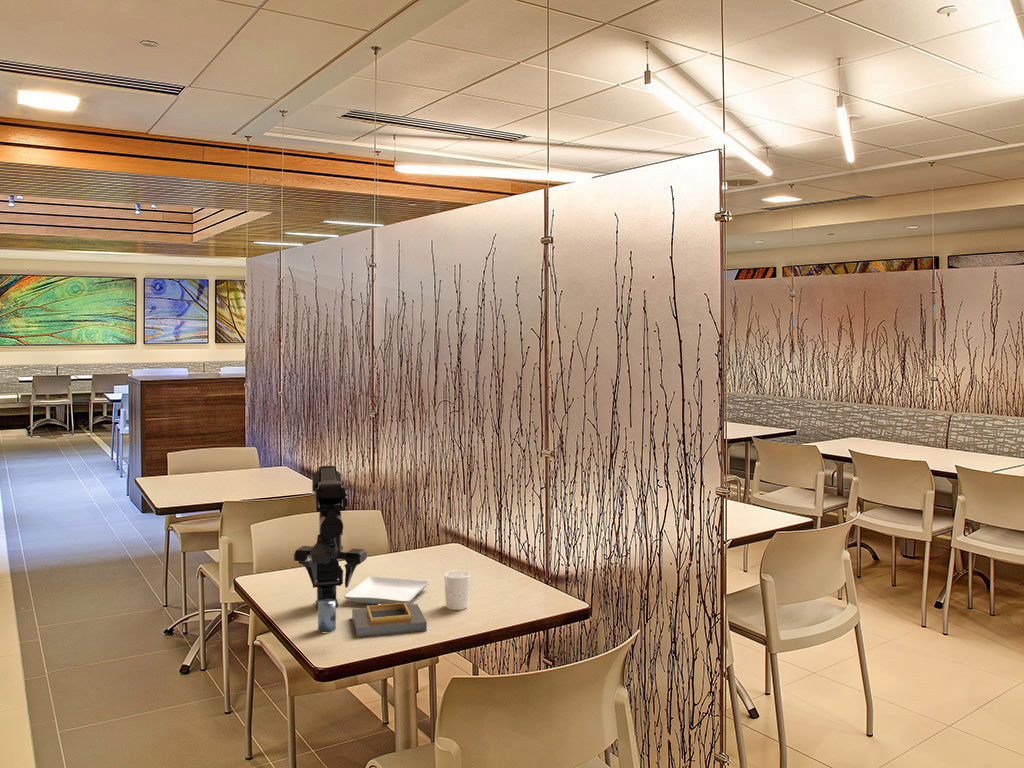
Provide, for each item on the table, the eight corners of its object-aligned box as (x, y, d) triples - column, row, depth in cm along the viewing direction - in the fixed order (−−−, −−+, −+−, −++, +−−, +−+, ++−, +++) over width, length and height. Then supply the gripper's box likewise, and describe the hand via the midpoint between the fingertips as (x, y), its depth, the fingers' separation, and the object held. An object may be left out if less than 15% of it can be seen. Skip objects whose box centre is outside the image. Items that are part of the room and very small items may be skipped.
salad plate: (409, 611, 232) (409, 599, 231) (342, 606, 236) (342, 595, 236) (430, 590, 252) (430, 580, 252) (369, 586, 257) (369, 576, 256)
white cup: (470, 602, 239) (470, 570, 239) (469, 610, 231) (469, 577, 231) (444, 602, 239) (444, 570, 238) (443, 611, 231) (443, 577, 231)
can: (317, 627, 216) (317, 599, 216) (335, 626, 217) (335, 598, 217) (318, 633, 212) (318, 604, 211) (336, 632, 213) (336, 603, 213)
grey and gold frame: (352, 618, 224) (352, 604, 224) (417, 612, 230) (417, 599, 229) (356, 637, 209) (356, 622, 209) (426, 630, 214) (426, 616, 214)
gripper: (284, 535, 203) (284, 593, 204) (352, 538, 200) (352, 598, 201) (302, 525, 214) (302, 580, 215) (367, 528, 211) (367, 584, 212)
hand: (330, 586), depth 210 cm, fingers open, 9 cm apart
